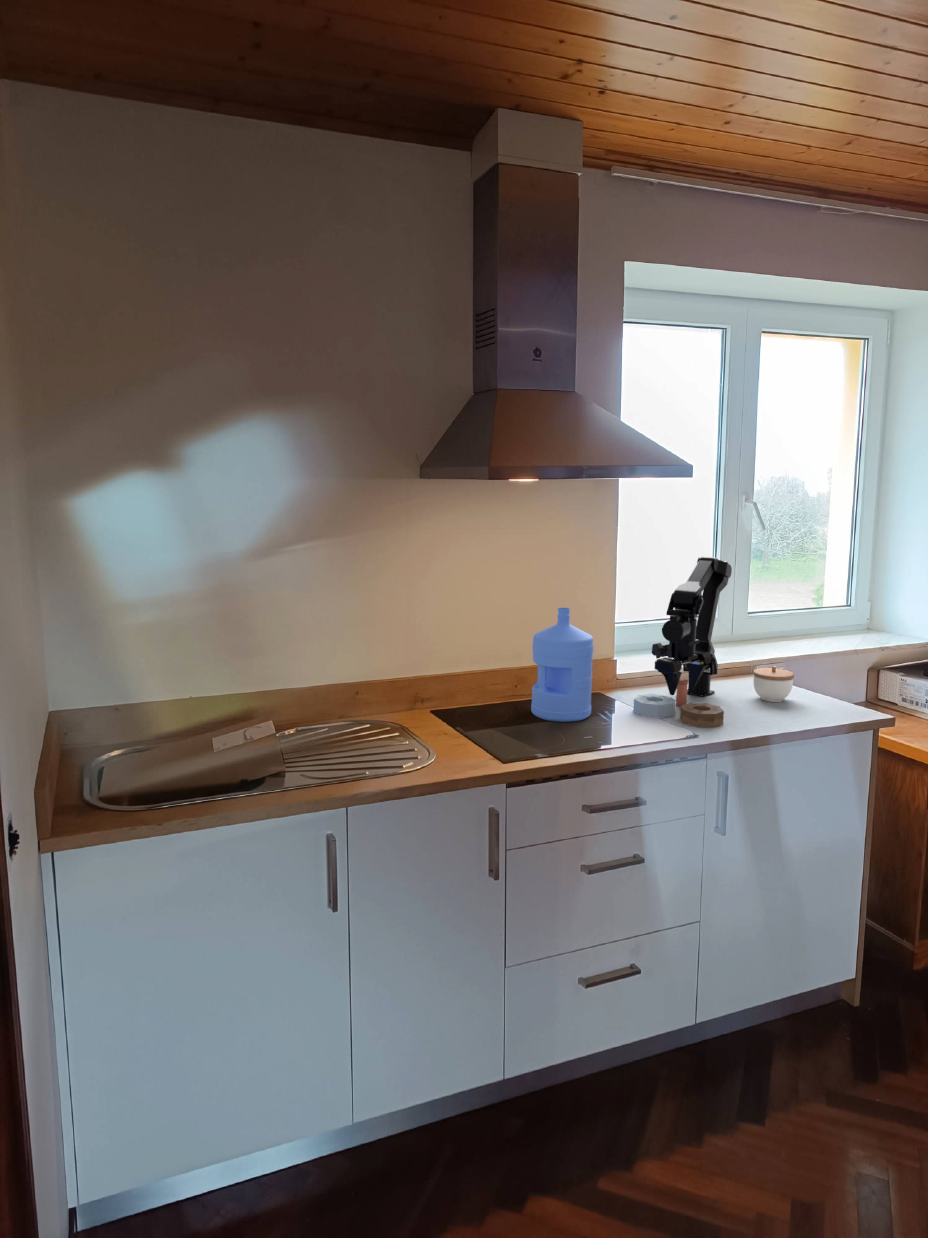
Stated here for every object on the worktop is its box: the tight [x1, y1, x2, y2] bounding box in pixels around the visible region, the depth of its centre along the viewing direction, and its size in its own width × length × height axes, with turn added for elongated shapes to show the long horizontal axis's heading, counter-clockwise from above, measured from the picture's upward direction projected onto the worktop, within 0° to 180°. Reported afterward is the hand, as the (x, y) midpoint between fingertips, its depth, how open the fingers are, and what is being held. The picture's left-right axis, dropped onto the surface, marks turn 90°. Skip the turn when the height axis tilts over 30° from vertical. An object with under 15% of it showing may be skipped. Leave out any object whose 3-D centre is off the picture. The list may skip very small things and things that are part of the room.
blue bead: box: [632, 693, 676, 719], centre depth 226 cm, size 10×10×4 cm
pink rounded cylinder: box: [675, 678, 689, 708], centre depth 232 cm, size 3×3×7 cm
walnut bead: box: [679, 702, 725, 728], centre depth 218 cm, size 10×10×4 cm
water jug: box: [530, 607, 594, 723], centre depth 221 cm, size 16×16×28 cm
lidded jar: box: [752, 665, 795, 703], centre depth 239 cm, size 11×11×9 cm
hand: (681, 692), depth 232 cm, fingers open, 9 cm apart
